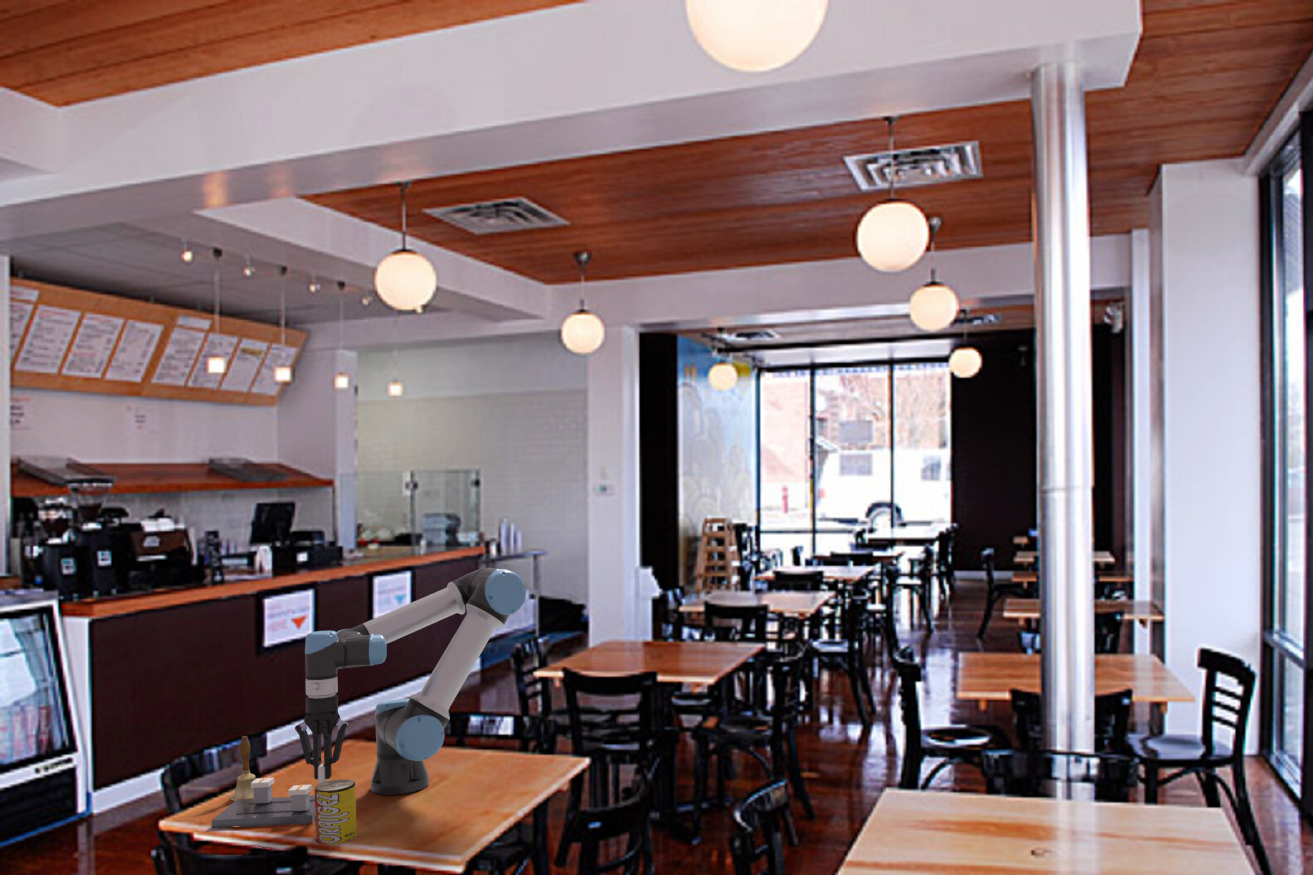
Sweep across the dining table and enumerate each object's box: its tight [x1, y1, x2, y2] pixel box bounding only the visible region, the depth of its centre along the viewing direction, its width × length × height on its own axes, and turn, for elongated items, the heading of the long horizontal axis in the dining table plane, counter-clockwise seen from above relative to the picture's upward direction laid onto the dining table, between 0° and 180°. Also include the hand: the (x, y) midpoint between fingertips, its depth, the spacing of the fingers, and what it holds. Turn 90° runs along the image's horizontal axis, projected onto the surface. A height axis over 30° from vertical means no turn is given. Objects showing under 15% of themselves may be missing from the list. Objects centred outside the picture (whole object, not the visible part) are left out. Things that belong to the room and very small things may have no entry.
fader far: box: [251, 776, 275, 803], centre depth 256 cm, size 4×4×5 cm
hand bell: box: [229, 735, 257, 802], centre depth 269 cm, size 8×8×16 cm
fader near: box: [287, 783, 313, 811], centre depth 249 cm, size 4×4×5 cm
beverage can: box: [313, 778, 358, 846], centre depth 234 cm, size 9×9×12 cm
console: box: [211, 795, 315, 830], centre depth 252 cm, size 24×16×2 cm, turn 91°
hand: (323, 792), depth 249 cm, fingers closed
